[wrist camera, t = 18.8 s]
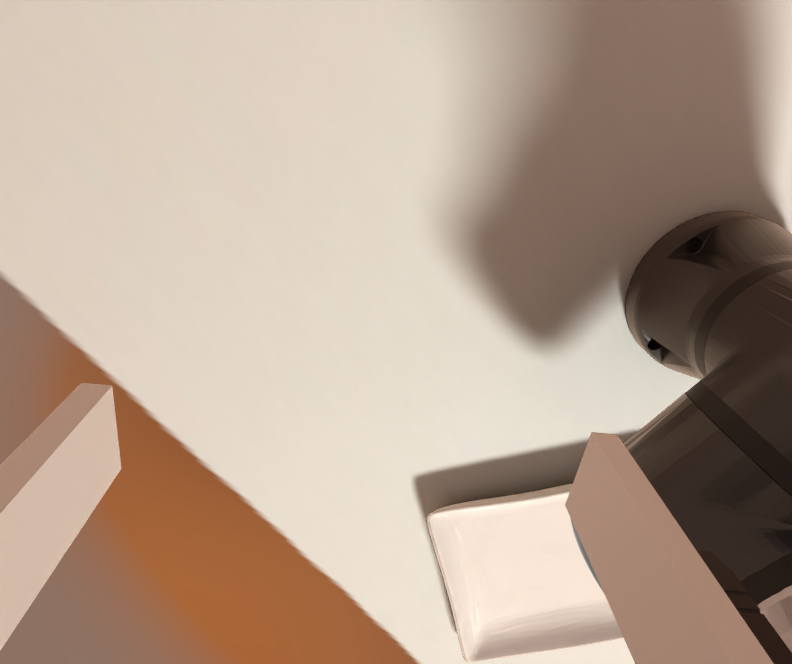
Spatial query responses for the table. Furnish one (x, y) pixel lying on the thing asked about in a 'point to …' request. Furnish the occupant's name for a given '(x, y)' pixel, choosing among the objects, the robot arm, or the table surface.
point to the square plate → (518, 576)
